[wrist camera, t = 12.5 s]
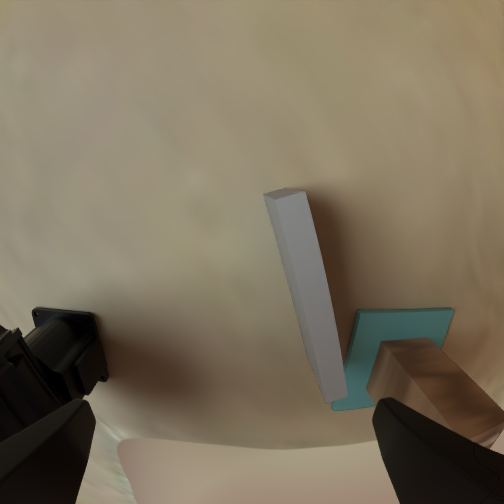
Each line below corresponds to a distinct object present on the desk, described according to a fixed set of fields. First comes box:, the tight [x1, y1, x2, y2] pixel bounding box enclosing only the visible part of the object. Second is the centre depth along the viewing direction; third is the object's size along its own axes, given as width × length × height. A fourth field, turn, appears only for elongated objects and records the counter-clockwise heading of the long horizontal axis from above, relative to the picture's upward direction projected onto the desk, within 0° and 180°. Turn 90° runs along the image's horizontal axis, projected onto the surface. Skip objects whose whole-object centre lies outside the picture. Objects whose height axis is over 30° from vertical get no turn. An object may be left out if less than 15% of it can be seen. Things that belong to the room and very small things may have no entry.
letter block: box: [366, 337, 504, 449], centre depth 16 cm, size 5×5×12 cm
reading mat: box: [332, 308, 454, 411], centre depth 22 cm, size 10×10×1 cm
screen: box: [263, 188, 348, 404], centre depth 18 cm, size 2×13×6 cm, turn 17°
